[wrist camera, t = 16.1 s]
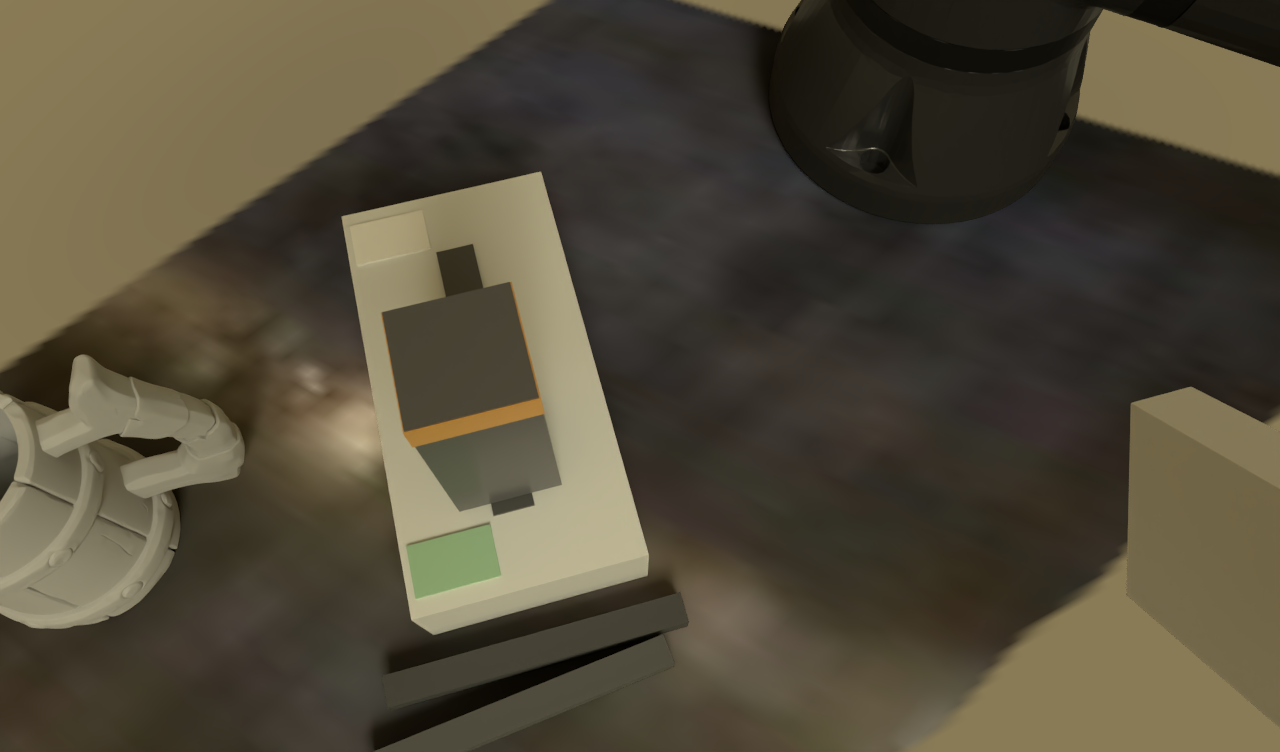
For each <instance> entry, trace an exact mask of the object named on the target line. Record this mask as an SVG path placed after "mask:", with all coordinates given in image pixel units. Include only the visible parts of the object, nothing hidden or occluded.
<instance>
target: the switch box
mask: <svg viewBox="0 0 1280 752" xmlns="http://www.w3.org/2000/svg"><path fill="white" fill-rule="evenodd" d="M342 222H343V228H344V234H345V240H346V245H347V251H348V257H349V263H350V268H351V274H352V280H353V286H354V291H355V297H356V303H357V309H358V315H359V320H360V326H361V332H362V338H363V343H364V349H365V355H366V361H367V366H368V372H369V378H370V384H371V390H372V395H373V401H374V407H375V413H376V418H377V424H378V430H379V436H380V442H381V447H382V453H383V459H384V465H385V470H386V476H387V482H388V488H389V493H390V499H391V505H392V511H393V517H394V522H395V528H396V534H397V540H398V545H399V551H400V557H401V563H402V568H403V574H404V580H405V586H406V592H407V597H408V603H409V609H410V615H411V620H412V621H413V622H415V623H416V624H418V625H419V626H421V627H422V628H424V629H425V630H427V631H428V632H430V633H431V634H433V635H436V634H440V633H443V632H447V631H450V630H454V629H458V628H461V627H465V626H469V625H472V624H476V623H479V622H483V621H487V620H490V619H494V618H497V617H501V616H505V615H508V614H512V613H515V612H519V611H523V610H526V609H530V608H533V607H537V606H541V605H544V604H548V603H551V602H555V601H559V600H562V599H566V598H569V597H573V596H577V595H580V594H584V593H587V592H591V591H595V590H598V589H602V588H606V587H609V586H613V585H616V584H620V583H624V582H627V581H631V580H634V579H638V578H642V577H645V576H648V560H649V554H648V551H647V547H646V543H645V540H644V536H643V533H642V529H641V526H640V522H639V519H638V515H637V511H636V508H635V504H634V501H633V497H632V494H631V490H630V486H629V483H628V479H627V476H626V472H625V469H624V465H623V462H622V458H621V454H620V451H619V447H618V444H617V440H616V437H615V433H614V430H613V426H612V422H611V419H610V415H609V412H608V408H607V405H606V401H605V398H604V394H603V390H602V387H601V383H600V380H599V376H598V373H597V369H596V366H595V362H594V358H593V355H592V351H591V348H590V344H589V341H588V337H587V334H586V330H585V326H584V323H583V319H582V316H581V312H580V309H579V305H578V302H577V298H576V294H575V291H574V287H573V284H572V280H571V277H570V273H569V270H568V266H567V262H566V259H565V255H564V252H563V248H562V245H561V241H560V238H559V234H558V230H557V227H556V223H555V220H554V216H553V213H552V209H551V206H550V202H549V198H548V195H547V191H546V188H545V184H544V181H543V177H542V174H541V172H537V173H533V174H528V175H524V176H519V177H515V178H511V179H506V180H502V181H497V182H493V183H488V184H484V185H479V186H475V187H471V188H466V189H462V190H457V191H453V192H448V193H444V194H440V195H435V196H431V197H426V198H422V199H417V200H413V201H408V202H404V203H400V204H395V205H391V206H386V207H382V208H377V209H373V210H368V211H364V212H360V213H355V214H351V215H346V216H342ZM507 282H512V285H513V289H514V293H515V297H516V301H517V305H518V309H519V313H520V317H521V321H522V325H523V329H524V333H525V337H526V341H527V345H528V349H529V353H530V357H531V360H532V364H533V368H534V372H535V376H536V380H537V384H538V388H539V392H540V396H541V400H542V404H543V408H544V412H545V414H544V415H545V419H546V423H547V427H548V431H549V435H550V439H551V443H552V447H553V451H554V455H555V459H556V463H557V467H558V471H559V475H560V479H561V483H562V485H559V486H556V487H552V488H548V489H544V490H540V491H537V492H533V493H529V494H525V495H521V496H518V497H514V498H510V499H506V500H502V501H499V502H495V503H491V504H487V505H483V506H480V507H476V508H472V509H468V510H464V511H461V512H459V510H458V509H457V507H456V506H455V505H454V503H453V502H452V500H451V499H450V497H449V496H448V494H447V493H446V492H445V490H444V489H443V487H442V486H441V484H440V483H439V481H438V480H437V478H436V477H435V476H434V474H433V473H432V471H431V470H430V468H429V467H428V465H427V464H426V462H425V461H424V460H423V458H422V457H421V455H420V454H419V452H418V451H417V449H416V448H415V447H413V448H412V446H411V445H410V443H409V442H408V440H407V439H406V437H405V436H404V435H403V431H402V425H401V420H400V414H399V409H398V403H397V398H396V393H395V387H394V382H393V376H392V371H391V365H390V360H389V355H388V349H387V344H386V338H385V333H384V327H383V322H382V317H381V312H385V311H389V310H393V309H397V308H401V307H406V306H410V305H414V304H418V303H422V302H427V301H431V300H435V299H439V298H443V297H448V296H452V295H456V294H460V293H464V292H469V291H473V290H477V289H481V288H486V287H490V286H494V285H498V284H502V283H507Z"/></svg>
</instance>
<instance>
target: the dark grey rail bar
mask: <svg viewBox="0 0 1280 752" xmlns="http://www.w3.org/2000/svg"><path fill="white" fill-rule="evenodd" d="M688 623H689V621H688V618H687V614H686V611H685V607H684V604H683V600H682V597H681V593H680V592H679V593H676V594H672V595H669V596H665V597H662V598H658V599H655V600H651V601H647V602H644V603H640V604H637V605H633V606H630V607H626V608H622V609H619V610H615V611H612V612H608V613H605V614H601V615H597V616H594V617H590V618H587V619H583V620H580V621H576V622H573V623H569V624H565V625H562V626H558V627H555V628H551V629H548V630H544V631H540V632H537V633H533V634H530V635H526V636H523V637H519V638H515V639H512V640H508V641H505V642H501V643H498V644H494V645H490V646H487V647H483V648H480V649H476V650H473V651H469V652H466V653H462V654H458V655H455V656H451V657H448V658H444V659H441V660H437V661H433V662H430V663H426V664H423V665H419V666H416V667H412V668H408V669H405V670H401V671H398V672H394V673H391V674H387V675H384V676H382V680H383V686H384V692H385V699H386V705H387V708H390V709H394V710H395V709H399V708H402V707H406V706H409V705H413V704H416V703H420V702H423V701H427V700H430V699H434V698H437V697H441V696H444V695H448V694H451V693H455V692H459V691H462V690H466V689H469V688H473V687H476V686H480V685H483V684H487V683H490V682H494V681H497V680H501V679H504V678H508V677H511V676H515V675H518V674H522V673H525V672H529V671H532V670H536V669H539V668H543V667H546V666H550V665H553V664H557V663H560V662H564V661H567V660H571V659H574V658H578V657H581V656H585V655H588V654H592V653H595V652H599V651H602V650H606V649H609V648H613V647H616V646H620V645H624V644H627V643H631V642H634V641H638V640H641V639H645V638H648V637H652V636H655V635H659V634H662V633H666V632H669V631H673V630H676V629H680V628H683V627H687V626H688Z"/></svg>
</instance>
